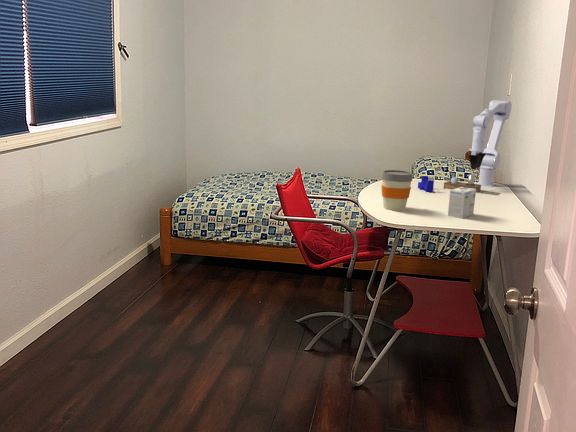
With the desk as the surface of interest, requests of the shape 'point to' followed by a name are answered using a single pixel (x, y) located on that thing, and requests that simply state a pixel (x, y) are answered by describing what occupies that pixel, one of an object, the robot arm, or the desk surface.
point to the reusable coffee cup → (396, 189)
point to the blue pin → (454, 180)
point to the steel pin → (471, 179)
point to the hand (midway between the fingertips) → (475, 168)
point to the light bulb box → (461, 202)
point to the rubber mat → (490, 193)
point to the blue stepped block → (426, 184)
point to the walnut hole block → (460, 185)
